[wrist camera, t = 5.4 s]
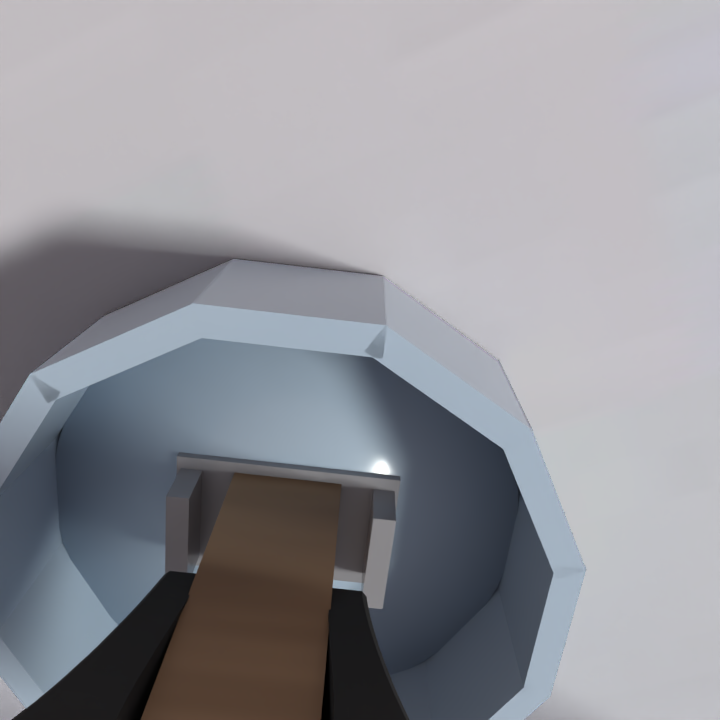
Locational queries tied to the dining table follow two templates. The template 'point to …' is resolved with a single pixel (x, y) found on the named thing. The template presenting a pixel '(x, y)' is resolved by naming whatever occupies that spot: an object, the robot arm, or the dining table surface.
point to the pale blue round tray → (295, 461)
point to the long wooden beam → (256, 608)
